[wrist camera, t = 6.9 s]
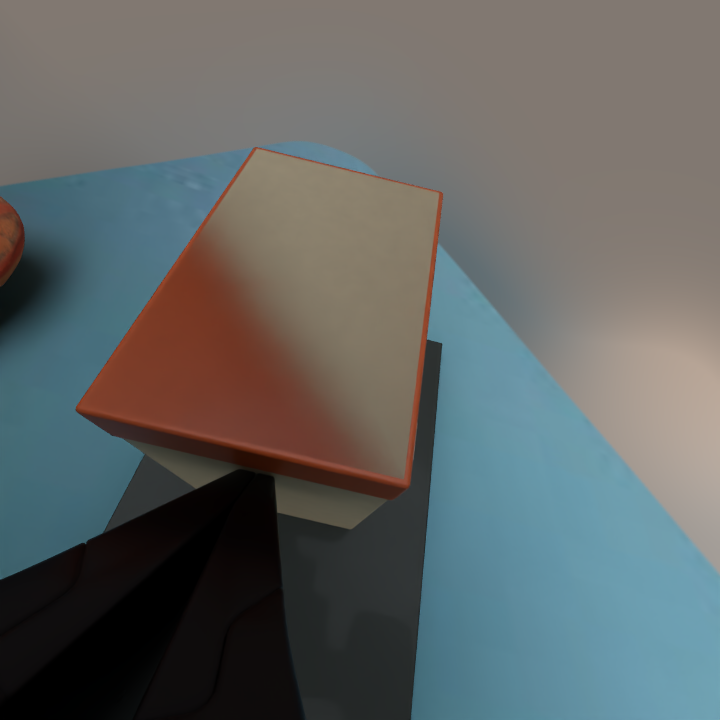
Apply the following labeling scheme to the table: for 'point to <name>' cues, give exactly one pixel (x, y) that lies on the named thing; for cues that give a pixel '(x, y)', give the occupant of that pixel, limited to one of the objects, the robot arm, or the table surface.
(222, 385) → the chalk box
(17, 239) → the pot
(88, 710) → the robot arm
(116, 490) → the table surface
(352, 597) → the slate board
